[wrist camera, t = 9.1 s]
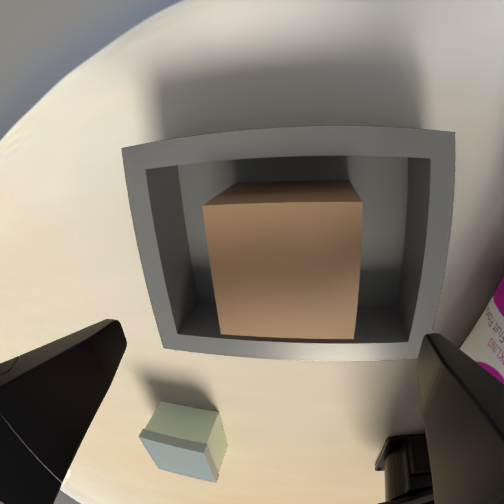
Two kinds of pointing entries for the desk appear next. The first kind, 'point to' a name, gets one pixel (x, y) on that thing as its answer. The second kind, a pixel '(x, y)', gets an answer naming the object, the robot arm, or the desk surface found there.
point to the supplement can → (489, 336)
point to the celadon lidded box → (186, 441)
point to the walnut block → (286, 258)
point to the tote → (299, 169)
